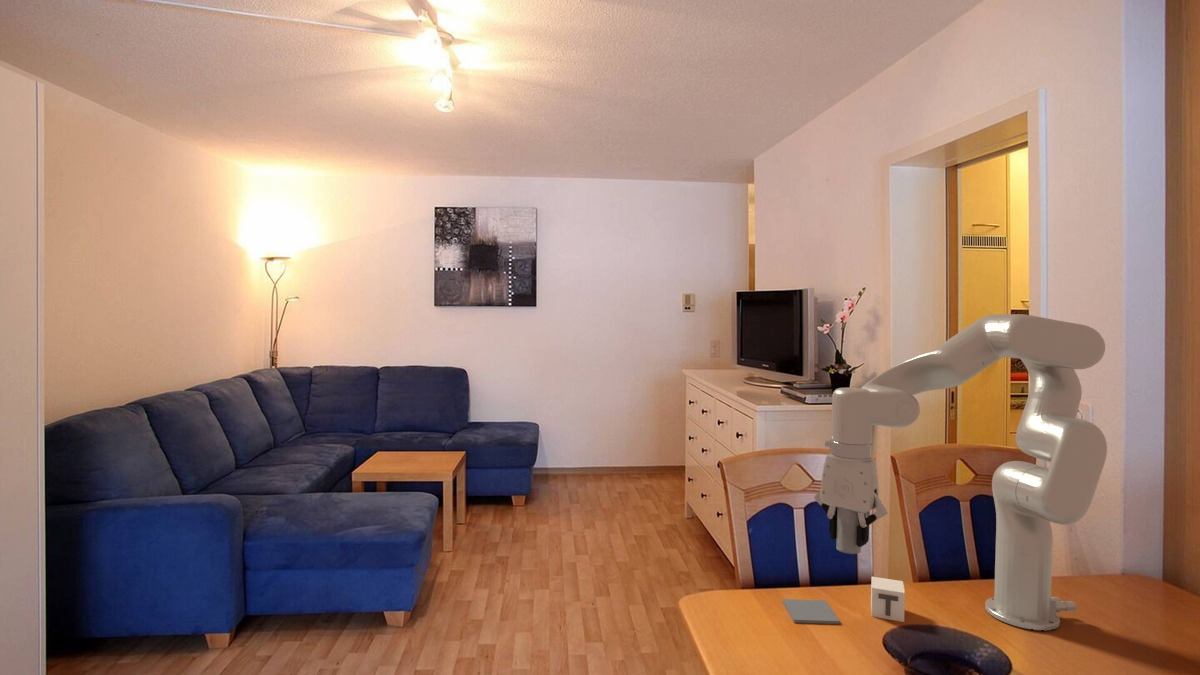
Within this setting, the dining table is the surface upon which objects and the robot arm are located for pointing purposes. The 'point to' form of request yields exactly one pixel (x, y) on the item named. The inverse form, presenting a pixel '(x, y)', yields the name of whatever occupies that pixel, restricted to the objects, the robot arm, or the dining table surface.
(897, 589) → the letter cube
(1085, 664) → the dining table surface
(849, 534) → the grey hollow tube
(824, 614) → the grey mat
